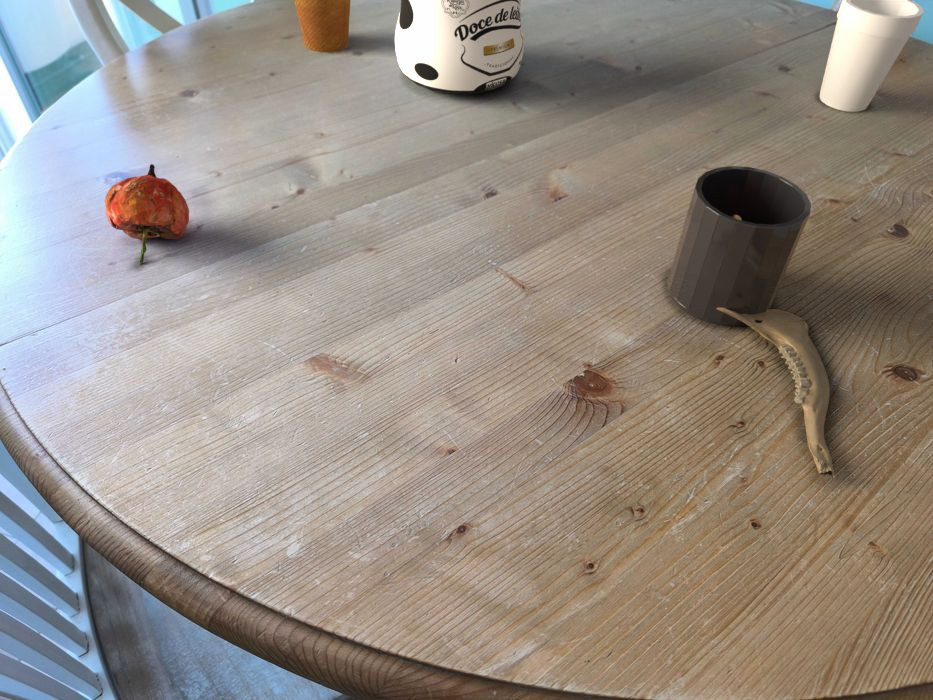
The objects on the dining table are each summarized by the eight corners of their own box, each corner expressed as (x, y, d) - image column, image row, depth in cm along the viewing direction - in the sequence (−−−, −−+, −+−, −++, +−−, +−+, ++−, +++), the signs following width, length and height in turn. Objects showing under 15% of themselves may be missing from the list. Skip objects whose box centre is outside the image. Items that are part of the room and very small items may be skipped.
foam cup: (794, 98, 103) (830, 0, 94) (828, 81, 108) (865, -15, 99) (858, 125, 98) (903, 24, 89) (891, 105, 103) (936, 7, 94)
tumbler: (757, 266, 75) (794, 169, 67) (779, 331, 68) (824, 231, 60) (661, 260, 75) (688, 162, 68) (674, 324, 68) (705, 223, 61)
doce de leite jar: (505, 114, 96) (517, -36, 84) (378, 94, 99) (371, -55, 87) (532, 61, 108) (546, -77, 96) (418, 44, 111) (417, -92, 99)
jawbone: (773, 302, 72) (782, 285, 71) (915, 471, 58) (930, 454, 57) (692, 308, 69) (700, 290, 68) (820, 486, 56) (833, 469, 54)
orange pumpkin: (193, 278, 74) (213, 182, 75) (147, 256, 67) (170, 151, 68) (127, 271, 75) (148, 177, 77) (76, 249, 68) (100, 146, 70)
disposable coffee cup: (283, 39, 111) (271, -49, 102) (341, 27, 115) (334, -58, 106) (310, 63, 105) (300, -28, 97) (370, 50, 109) (366, -39, 101)
